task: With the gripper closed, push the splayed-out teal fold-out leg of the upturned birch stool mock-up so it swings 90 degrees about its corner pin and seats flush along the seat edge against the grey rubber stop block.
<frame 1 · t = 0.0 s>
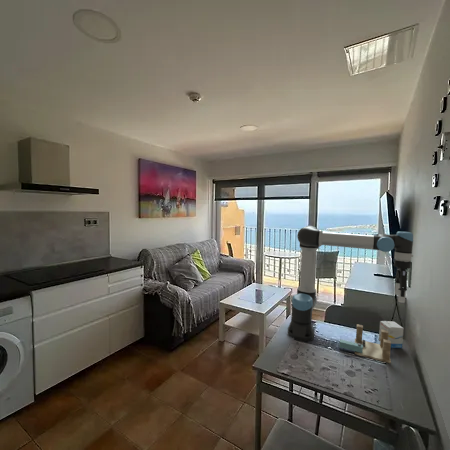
hand: (399, 298, 139), 28 cm above the table, fingers open, 13 cm apart
stool seat: (371, 350, 136), on the table
ink box: (390, 344, 144), on the table
hinged leg: (350, 345, 135), point 3 cm above the table, hinge at 90.0°
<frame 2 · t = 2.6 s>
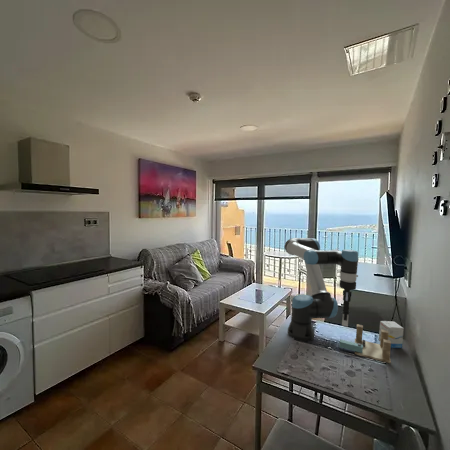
hand: (344, 325, 130), 16 cm above the table, fingers closed
nothing on the table moved.
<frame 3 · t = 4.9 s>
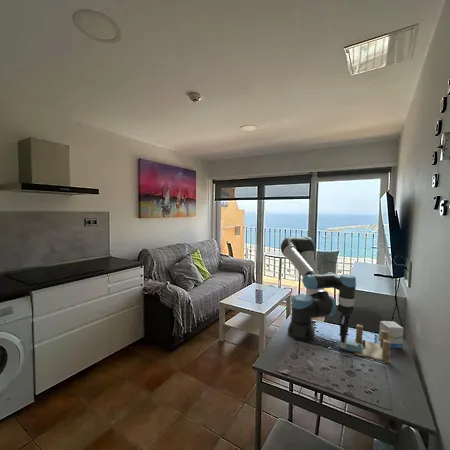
hand: (342, 347, 135), 2 cm above the table, fingers closed
hinged leg: (350, 345, 135), point 3 cm above the table, hinge at 90.0°, touching gripper
everything else where it was.
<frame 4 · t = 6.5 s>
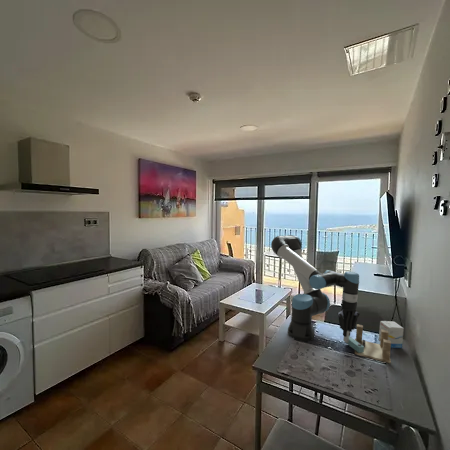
hand: (345, 341, 141), 2 cm above the table, fingers closed
hinged leg: (353, 343, 137), point 3 cm above the table, hinge at 40.3°, touching gripper
everything else where it was.
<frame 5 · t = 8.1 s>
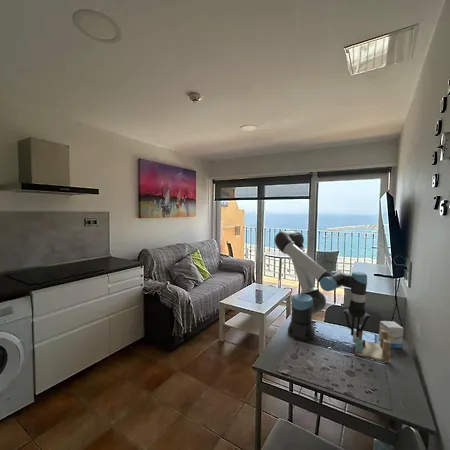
hand: (354, 341, 141), 2 cm above the table, fingers closed
hinged leg: (358, 343, 137), point 3 cm above the table, hinge at 2.2°, touching gripper
everything else where it was.
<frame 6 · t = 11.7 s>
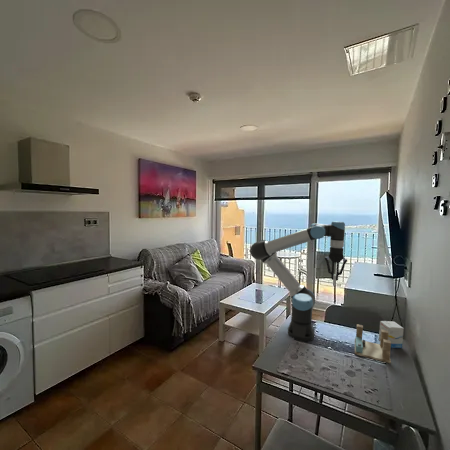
hand: (334, 285, 154), 29 cm above the table, fingers closed
hinged leg: (358, 343, 137), point 3 cm above the table, hinge at 2.1°
everything else where it was.
at the end: hinged leg at +2° (first picture: +90°) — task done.
